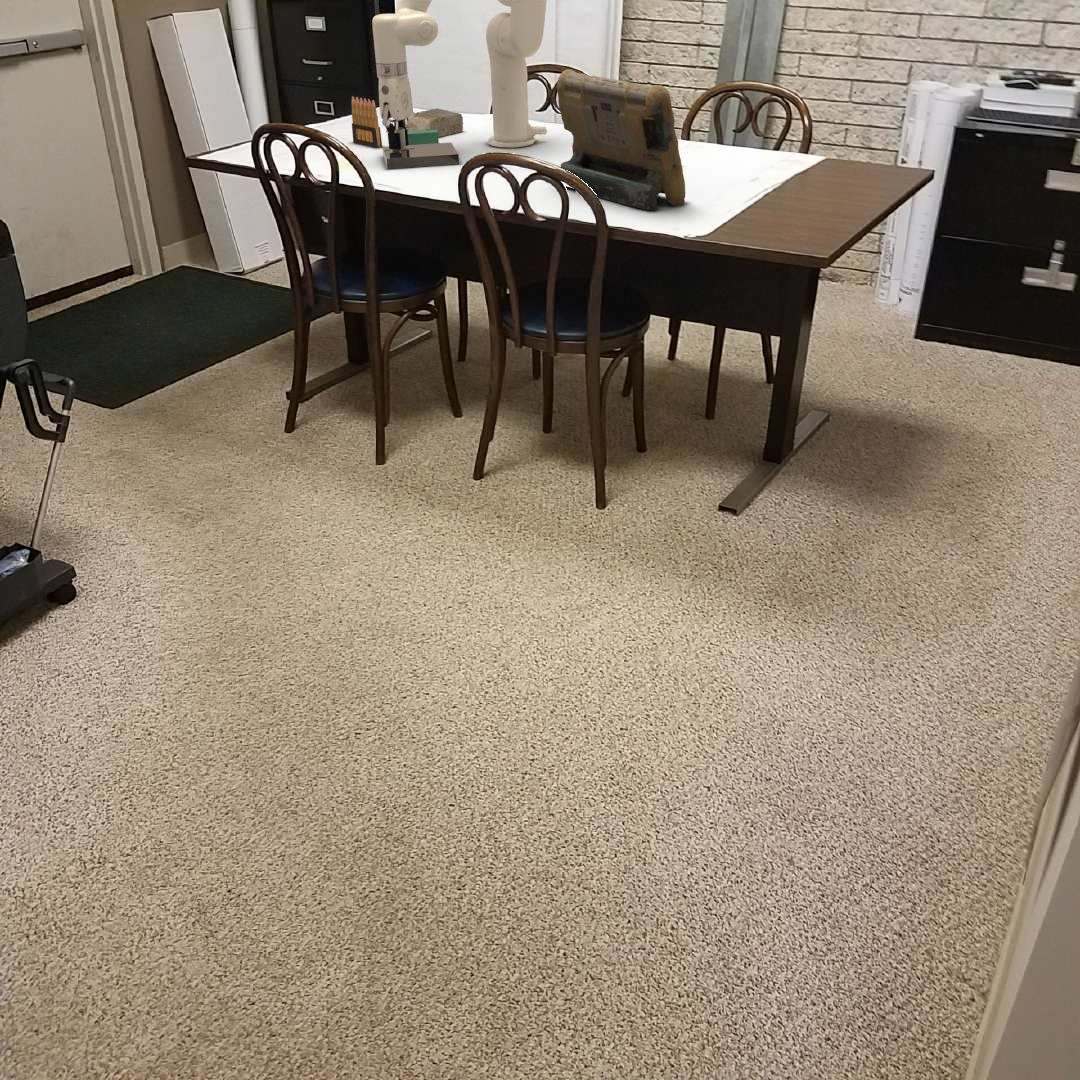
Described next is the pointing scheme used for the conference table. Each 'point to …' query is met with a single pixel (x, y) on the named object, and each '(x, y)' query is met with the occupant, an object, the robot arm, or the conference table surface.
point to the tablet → (622, 139)
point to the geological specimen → (436, 121)
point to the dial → (402, 138)
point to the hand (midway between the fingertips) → (398, 146)
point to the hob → (421, 156)
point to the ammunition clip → (365, 123)
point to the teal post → (423, 137)
